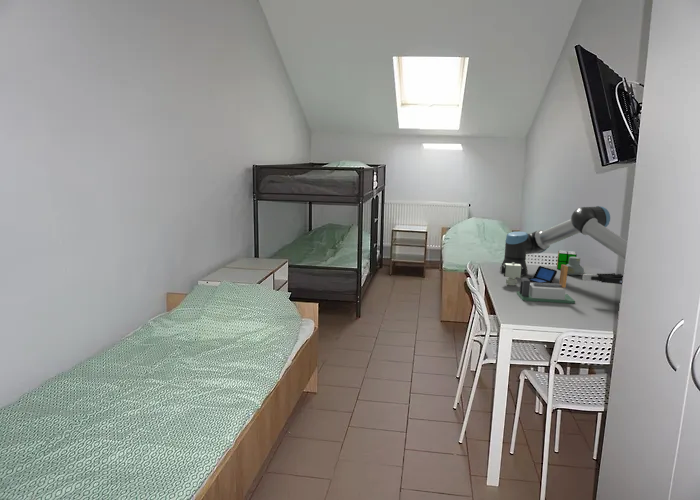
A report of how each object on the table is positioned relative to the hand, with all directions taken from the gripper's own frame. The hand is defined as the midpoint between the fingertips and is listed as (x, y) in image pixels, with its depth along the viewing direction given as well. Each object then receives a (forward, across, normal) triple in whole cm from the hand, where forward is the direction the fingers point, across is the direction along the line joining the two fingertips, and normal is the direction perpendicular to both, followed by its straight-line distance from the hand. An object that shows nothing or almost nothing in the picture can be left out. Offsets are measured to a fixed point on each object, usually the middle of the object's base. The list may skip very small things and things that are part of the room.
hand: (583, 277), depth 256 cm
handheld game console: (+10, +35, -12) cm, 38 cm away
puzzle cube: (-15, +74, -12) cm, 76 cm away
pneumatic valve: (+27, +24, -12) cm, 38 cm away
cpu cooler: (+16, 0, -12) cm, 20 cm away
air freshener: (-14, +58, -12) cm, 61 cm away
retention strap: (+15, 0, -5) cm, 16 cm away
